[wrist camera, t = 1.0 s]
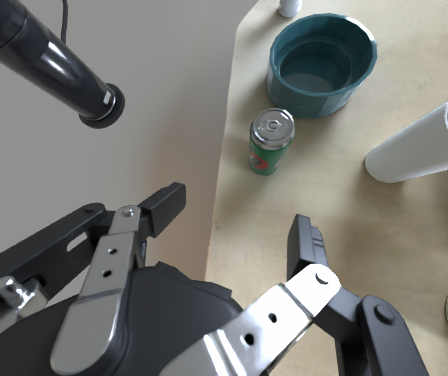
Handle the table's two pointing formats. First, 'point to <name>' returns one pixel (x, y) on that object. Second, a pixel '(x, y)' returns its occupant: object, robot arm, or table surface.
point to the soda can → (270, 140)
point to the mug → (412, 150)
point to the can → (447, 309)
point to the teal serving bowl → (319, 64)
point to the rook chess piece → (289, 7)
